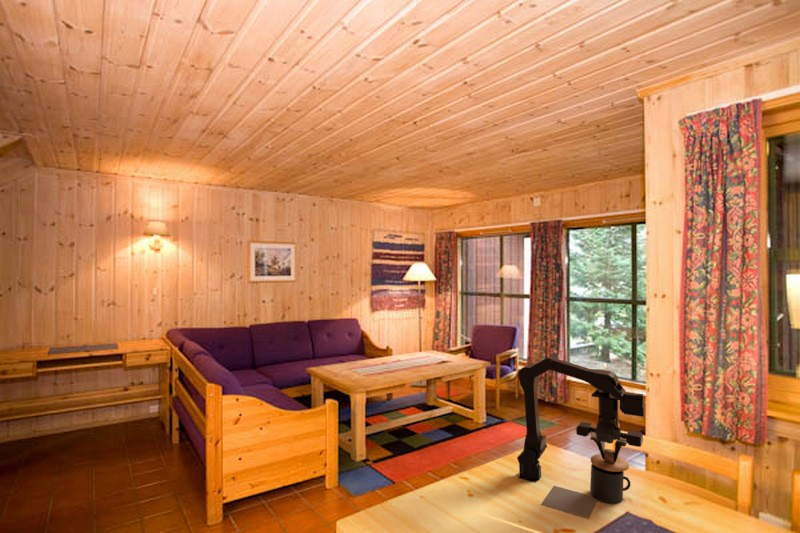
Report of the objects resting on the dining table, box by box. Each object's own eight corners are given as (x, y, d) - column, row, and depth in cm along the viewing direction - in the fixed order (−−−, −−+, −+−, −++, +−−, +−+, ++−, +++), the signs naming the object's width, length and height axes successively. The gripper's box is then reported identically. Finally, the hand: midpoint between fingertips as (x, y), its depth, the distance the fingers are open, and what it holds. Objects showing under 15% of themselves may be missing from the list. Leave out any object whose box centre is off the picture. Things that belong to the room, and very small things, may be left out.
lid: (587, 466, 138) (587, 453, 138) (594, 453, 147) (594, 441, 147) (626, 474, 132) (625, 461, 132) (631, 461, 141) (631, 448, 141)
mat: (540, 506, 136) (540, 504, 136) (553, 487, 147) (553, 485, 147) (588, 520, 128) (588, 518, 128) (598, 499, 139) (598, 497, 139)
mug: (636, 506, 135) (637, 476, 135) (596, 502, 136) (597, 473, 136) (623, 491, 144) (624, 464, 144) (586, 488, 145) (587, 460, 145)
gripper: (571, 413, 139) (572, 462, 139) (637, 425, 128) (639, 478, 128) (580, 404, 148) (581, 450, 148) (642, 414, 137) (643, 463, 137)
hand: (609, 460), depth 140 cm, fingers closed on lid, 3 cm apart
